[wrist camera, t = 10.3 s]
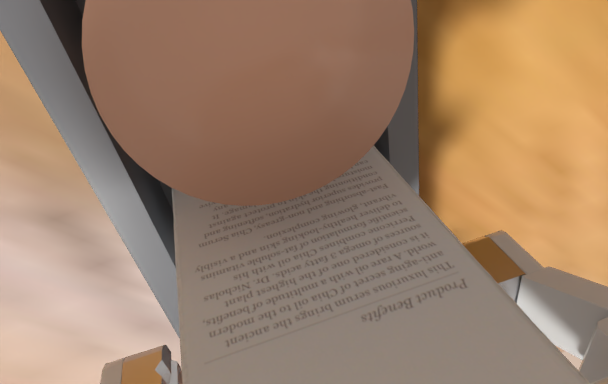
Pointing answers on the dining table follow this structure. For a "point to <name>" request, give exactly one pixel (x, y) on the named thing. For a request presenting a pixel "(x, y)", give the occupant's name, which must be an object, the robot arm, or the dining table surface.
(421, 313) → the skincare box
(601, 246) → the dining table surface
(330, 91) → the brown egg
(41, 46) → the pusher lane
